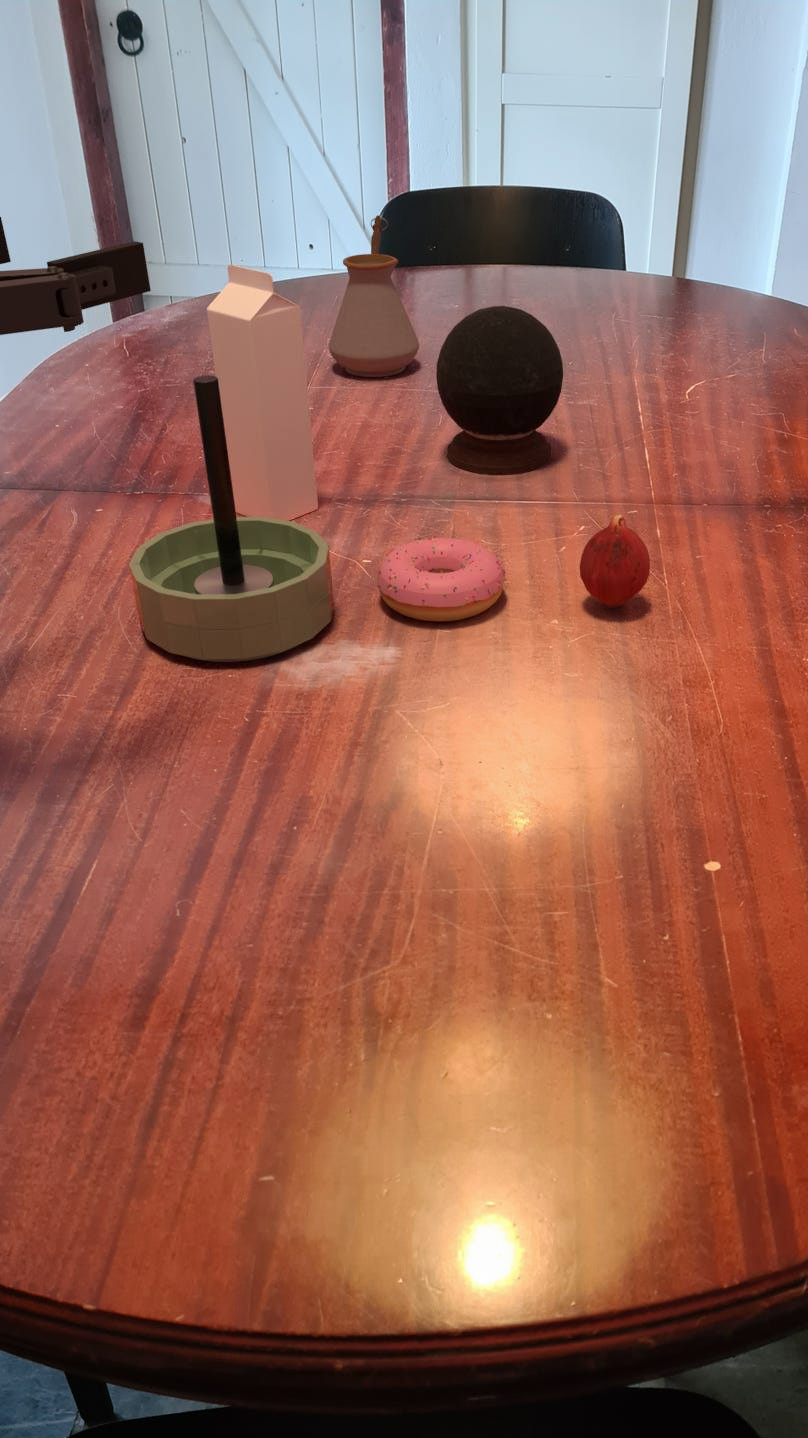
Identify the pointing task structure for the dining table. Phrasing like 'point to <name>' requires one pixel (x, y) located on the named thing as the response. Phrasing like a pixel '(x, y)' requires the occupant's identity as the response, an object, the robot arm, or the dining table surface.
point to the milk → (263, 397)
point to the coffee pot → (372, 317)
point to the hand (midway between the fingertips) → (70, 251)
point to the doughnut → (440, 579)
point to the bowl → (233, 619)
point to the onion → (615, 564)
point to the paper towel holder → (222, 502)
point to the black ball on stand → (499, 390)
